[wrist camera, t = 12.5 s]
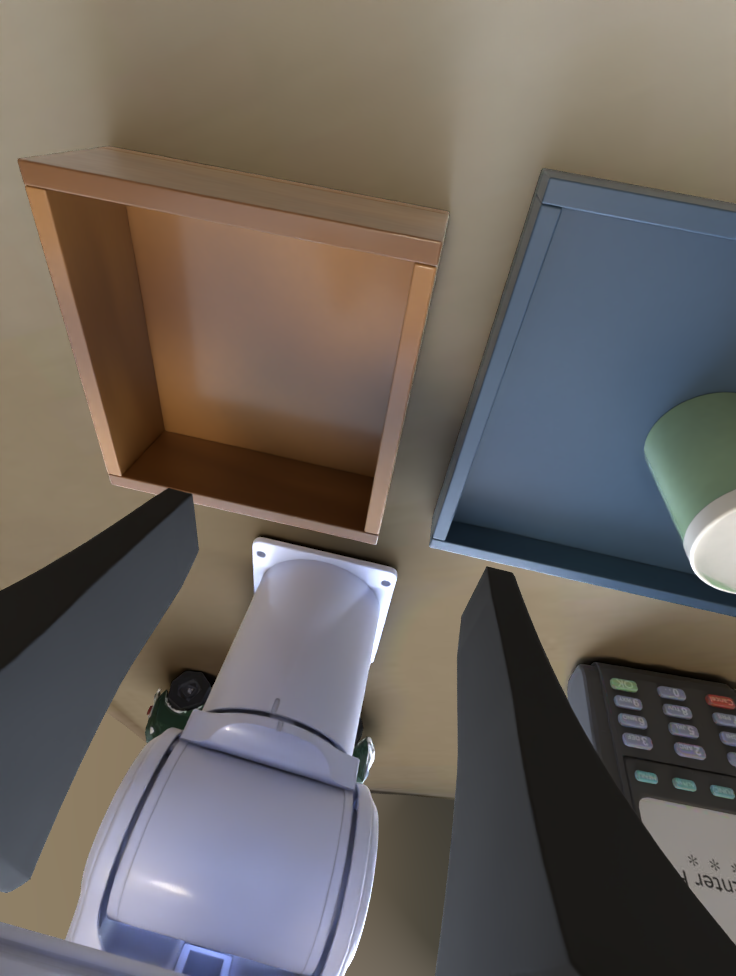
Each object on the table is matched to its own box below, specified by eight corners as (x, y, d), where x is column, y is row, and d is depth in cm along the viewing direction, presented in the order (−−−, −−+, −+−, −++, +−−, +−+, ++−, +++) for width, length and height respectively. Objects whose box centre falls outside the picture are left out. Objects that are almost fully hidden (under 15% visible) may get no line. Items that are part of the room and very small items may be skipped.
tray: (796, 599, 22) (820, 637, 20) (432, 517, 23) (428, 547, 21) (1177, 285, 13) (1271, 311, 11) (542, 167, 14) (550, 176, 12)
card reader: (754, 678, 26) (966, 1130, 15) (717, 712, 29) (874, 1119, 17) (580, 649, 27) (653, 1048, 16) (560, 684, 30) (611, 1049, 18)
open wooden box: (390, 483, 22) (376, 545, 19) (160, 432, 23) (110, 484, 20) (450, 211, 15) (442, 242, 12) (107, 145, 15) (15, 157, 12)
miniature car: (370, 758, 42) (352, 870, 36) (178, 711, 44) (129, 812, 37) (384, 714, 37) (365, 837, 30) (161, 661, 38) (100, 770, 32)
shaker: (726, 494, 19) (797, 609, 14) (622, 471, 19) (662, 578, 15) (802, 404, 16) (917, 513, 12) (680, 379, 16) (749, 478, 12)
